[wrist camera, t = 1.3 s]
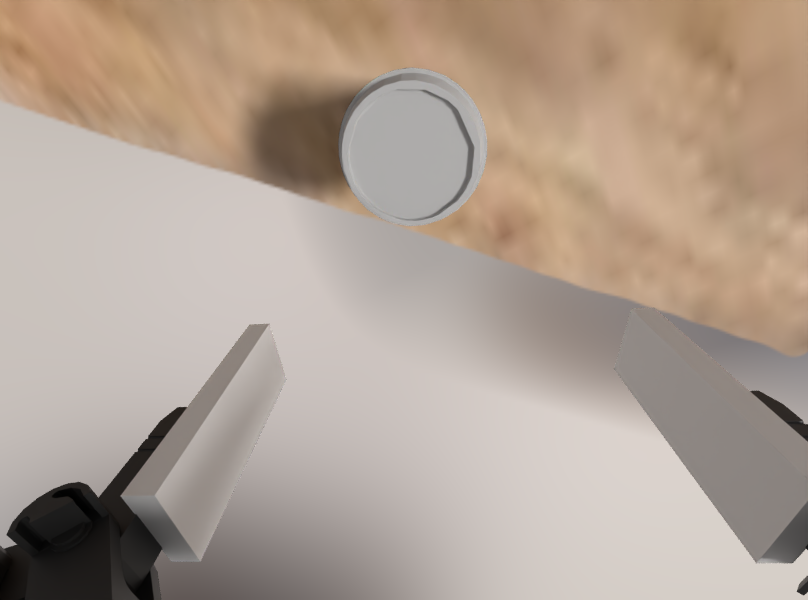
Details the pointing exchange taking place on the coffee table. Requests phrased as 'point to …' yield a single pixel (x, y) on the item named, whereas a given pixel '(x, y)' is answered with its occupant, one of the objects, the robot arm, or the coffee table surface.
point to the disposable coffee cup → (412, 146)
